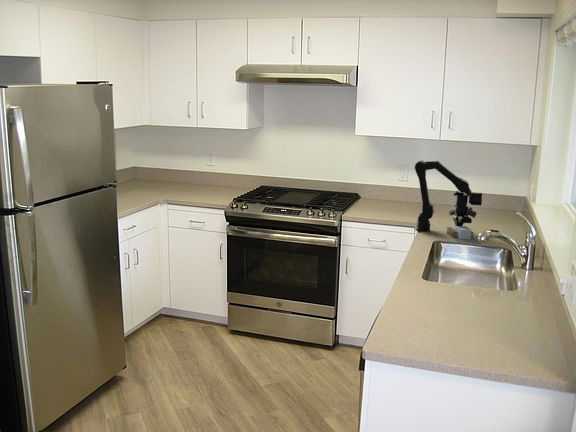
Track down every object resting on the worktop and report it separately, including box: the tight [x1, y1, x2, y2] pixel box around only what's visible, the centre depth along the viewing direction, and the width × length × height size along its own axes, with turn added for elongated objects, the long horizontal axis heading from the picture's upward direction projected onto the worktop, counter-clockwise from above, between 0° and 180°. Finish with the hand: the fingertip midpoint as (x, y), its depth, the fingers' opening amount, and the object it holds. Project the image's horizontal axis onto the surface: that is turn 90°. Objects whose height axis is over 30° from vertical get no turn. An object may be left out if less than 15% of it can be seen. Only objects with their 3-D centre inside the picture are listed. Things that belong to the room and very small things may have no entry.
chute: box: [446, 226, 474, 238], centre depth 326 cm, size 12×10×3 cm
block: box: [454, 225, 473, 239], centre depth 322 cm, size 6×8×5 cm
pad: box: [451, 237, 482, 245], centre depth 316 cm, size 12×12×1 cm
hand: (458, 231), depth 328 cm, fingers closed
